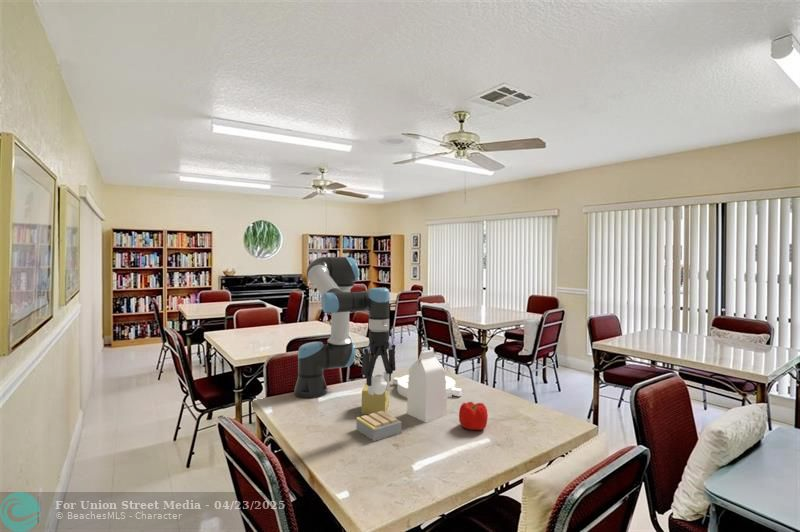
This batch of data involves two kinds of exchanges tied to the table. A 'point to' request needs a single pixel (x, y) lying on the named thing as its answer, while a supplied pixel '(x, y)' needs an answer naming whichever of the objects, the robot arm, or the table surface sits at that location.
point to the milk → (427, 388)
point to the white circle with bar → (403, 386)
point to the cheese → (374, 402)
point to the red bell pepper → (473, 416)
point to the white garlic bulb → (379, 384)
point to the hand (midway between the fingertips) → (378, 392)
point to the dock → (378, 425)
